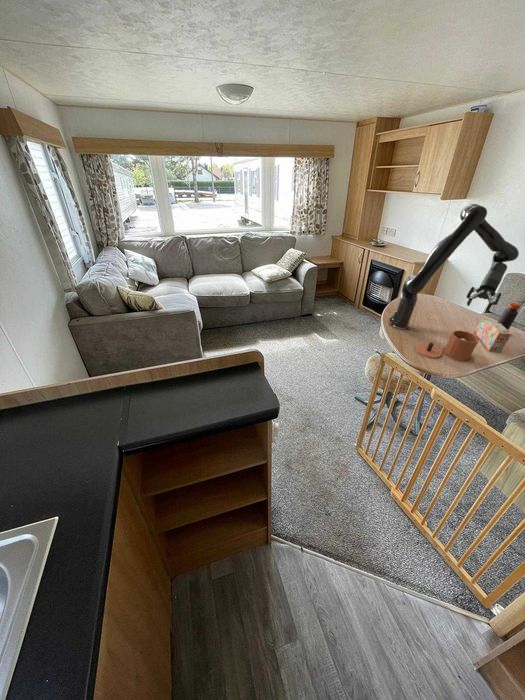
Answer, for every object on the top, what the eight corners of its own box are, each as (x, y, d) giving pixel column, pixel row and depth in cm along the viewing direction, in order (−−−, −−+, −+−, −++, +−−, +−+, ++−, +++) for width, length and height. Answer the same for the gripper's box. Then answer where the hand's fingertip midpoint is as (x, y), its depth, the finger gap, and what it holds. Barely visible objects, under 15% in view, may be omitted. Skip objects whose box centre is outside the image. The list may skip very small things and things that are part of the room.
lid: (412, 352, 162) (415, 343, 158) (418, 342, 170) (421, 334, 167) (438, 361, 155) (442, 353, 152) (443, 351, 164) (447, 342, 161)
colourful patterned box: (474, 332, 183) (483, 315, 176) (484, 333, 182) (494, 316, 175) (488, 350, 166) (499, 332, 159) (500, 352, 165) (512, 334, 158)
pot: (441, 354, 160) (450, 336, 154) (446, 345, 169) (454, 328, 162) (466, 363, 154) (477, 345, 147) (470, 353, 162) (480, 335, 156)
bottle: (506, 332, 184) (523, 304, 173) (504, 336, 180) (522, 307, 169) (493, 328, 188) (509, 300, 176) (491, 332, 184) (508, 304, 172)
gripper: (476, 275, 156) (462, 301, 156) (508, 281, 148) (493, 308, 147) (475, 281, 162) (462, 306, 162) (506, 288, 154) (491, 314, 153)
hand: (477, 307), depth 155 cm, fingers open, 8 cm apart
